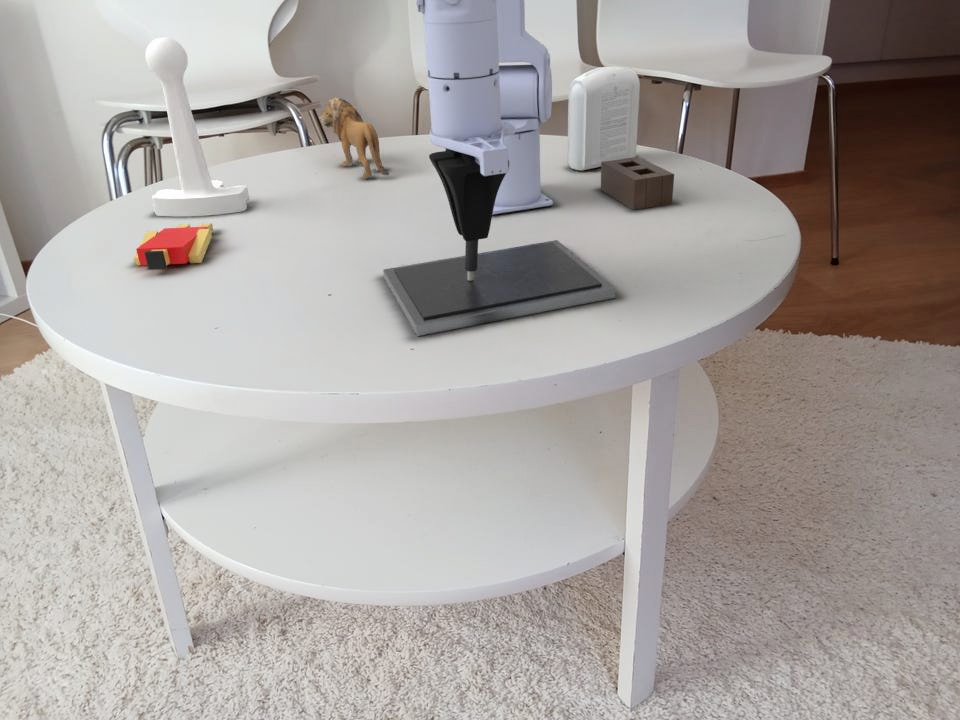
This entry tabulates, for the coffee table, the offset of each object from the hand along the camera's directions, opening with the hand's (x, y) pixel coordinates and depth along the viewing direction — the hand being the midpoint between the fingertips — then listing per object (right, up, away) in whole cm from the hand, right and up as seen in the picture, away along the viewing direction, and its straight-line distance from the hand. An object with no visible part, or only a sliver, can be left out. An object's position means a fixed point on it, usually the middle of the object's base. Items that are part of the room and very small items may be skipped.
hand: (472, 235), depth 68 cm
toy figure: (-32, 0, +15) cm, 35 cm away
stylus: (0, -4, +2) cm, 4 cm away
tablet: (+2, -4, +3) cm, 6 cm away
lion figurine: (-16, +16, +41) cm, 47 cm away
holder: (+19, +8, +24) cm, 32 cm away
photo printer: (+17, +16, +37) cm, 44 cm away
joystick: (-34, +8, +30) cm, 46 cm away
